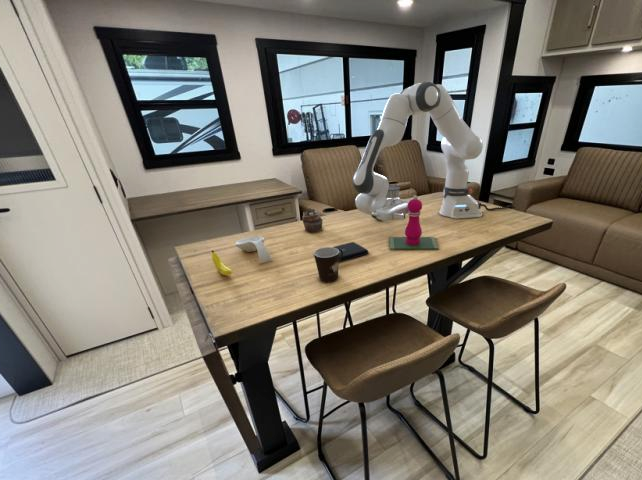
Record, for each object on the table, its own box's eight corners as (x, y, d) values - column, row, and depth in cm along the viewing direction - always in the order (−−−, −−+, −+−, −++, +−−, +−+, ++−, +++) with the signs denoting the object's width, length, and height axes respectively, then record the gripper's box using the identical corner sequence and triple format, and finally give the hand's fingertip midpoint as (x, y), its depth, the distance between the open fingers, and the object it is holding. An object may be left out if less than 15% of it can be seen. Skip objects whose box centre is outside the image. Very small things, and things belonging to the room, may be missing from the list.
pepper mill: (400, 242, 137) (402, 195, 126) (410, 238, 141) (413, 192, 131) (414, 247, 133) (417, 198, 122) (424, 242, 137) (428, 195, 127)
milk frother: (400, 213, 174) (401, 185, 166) (395, 222, 161) (396, 193, 153) (375, 212, 177) (374, 185, 169) (368, 221, 164) (368, 192, 156)
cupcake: (318, 234, 150) (316, 213, 144) (300, 232, 152) (297, 211, 147) (326, 227, 157) (325, 207, 152) (309, 225, 160) (307, 206, 154)
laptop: (312, 251, 132) (312, 247, 131) (357, 243, 139) (357, 239, 138) (323, 266, 120) (323, 261, 119) (371, 257, 127) (371, 252, 125)
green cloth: (434, 238, 142) (434, 236, 142) (438, 249, 131) (438, 248, 131) (389, 238, 143) (389, 237, 143) (390, 249, 132) (390, 248, 132)
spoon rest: (233, 248, 137) (229, 232, 133) (260, 241, 143) (257, 226, 139) (252, 267, 121) (248, 249, 117) (281, 259, 127) (278, 242, 123)
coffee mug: (321, 286, 107) (318, 259, 102) (313, 276, 114) (310, 250, 108) (352, 278, 112) (351, 252, 106) (342, 268, 118) (341, 243, 113)
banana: (229, 284, 109) (225, 268, 106) (212, 266, 122) (208, 251, 118) (238, 282, 111) (233, 265, 108) (220, 264, 123) (216, 249, 120)
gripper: (369, 206, 132) (396, 212, 124) (399, 196, 144) (425, 201, 136) (370, 221, 135) (395, 228, 127) (399, 210, 148) (424, 216, 140)
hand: (411, 214), depth 132 cm, fingers open, 8 cm apart
